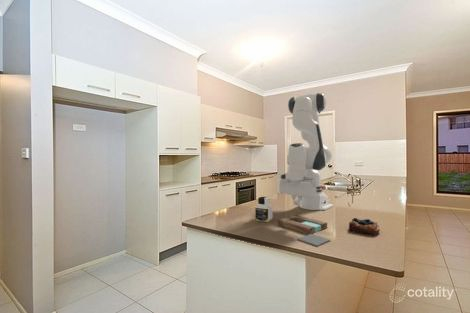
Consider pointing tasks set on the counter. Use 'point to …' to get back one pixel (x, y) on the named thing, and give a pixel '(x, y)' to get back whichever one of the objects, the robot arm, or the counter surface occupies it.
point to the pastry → (364, 227)
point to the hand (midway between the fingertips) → (296, 204)
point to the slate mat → (314, 240)
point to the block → (317, 226)
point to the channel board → (297, 221)
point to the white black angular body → (263, 209)
